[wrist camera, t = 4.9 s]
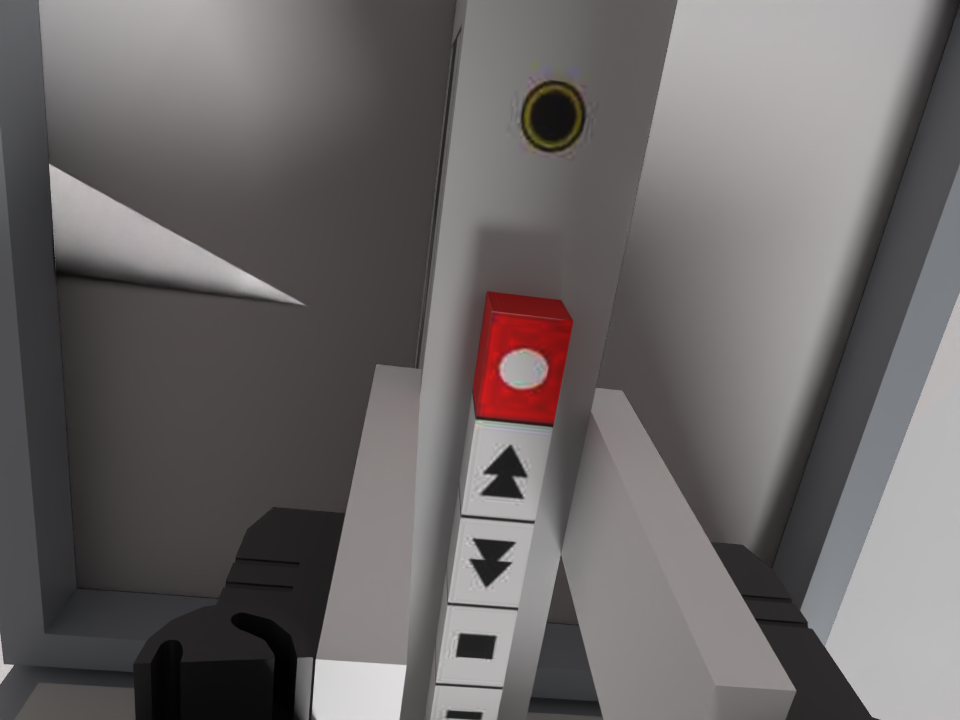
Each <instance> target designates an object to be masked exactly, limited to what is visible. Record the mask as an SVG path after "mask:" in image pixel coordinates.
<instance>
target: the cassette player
mask: <svg viewBox="0 0 960 720" xmlns="http://www.w3.org/2000/svg"><path fill="white" fill-rule="evenodd" d="M676 5H677V0H456V9H455V18H454V26H453V35H452V44H451V52H450V61H449V70H448V78H447V87H446V96H445V104H444V113H443V122H442V131H441V139H440V148H439V157H438V165H437V174H436V183H435V191H434V200H433V209H432V217H431V226H430V235H429V243H428V252H427V261H426V269H425V278H424V287H423V295H422V304H421V313H420V321H419V330H418V339H417V348H416V356H415V365H414V368H416V369H421V389H420V409H419V428H418V448H417V468H416V488H415V508H414V528H413V548H412V568H411V588H410V608H409V628H408V648H407V666H406V674H405V681H404V689H403V696H402V704H401V712H400V719H399V720H526V717H527V713H528V708H529V703H530V698H531V694H532V689H533V684H534V679H535V675H536V670H537V665H538V660H539V656H540V651H541V646H542V641H543V637H544V632H545V627H546V622H547V618H548V613H549V608H550V603H551V599H552V594H553V589H554V584H555V580H556V575H557V570H558V565H559V561H560V556H561V551H562V546H563V542H564V537H565V532H566V527H567V523H568V518H569V513H570V508H571V504H572V499H573V494H574V489H575V485H576V480H577V475H578V470H579V466H580V461H581V456H582V451H583V447H584V442H585V437H586V432H587V427H588V423H589V418H590V413H591V409H592V404H593V399H594V394H595V390H596V385H597V380H598V375H599V371H600V366H601V361H602V356H603V352H604V347H605V342H606V337H607V333H608V328H609V323H610V318H611V314H612V309H613V304H614V299H615V295H616V290H617V285H618V280H619V276H620V271H621V266H622V261H623V257H624V252H625V247H626V242H627V238H628V233H629V228H630V223H631V219H632V214H633V209H634V204H635V200H636V195H637V190H638V185H639V181H640V176H641V171H642V166H643V162H644V157H645V152H646V147H647V143H648V138H649V133H650V128H651V124H652V119H653V114H654V109H655V105H656V100H657V95H658V90H659V86H660V81H661V76H662V71H663V67H664V62H665V57H666V52H667V48H668V43H669V38H670V33H671V29H672V24H673V19H674V14H675V10H676Z"/></svg>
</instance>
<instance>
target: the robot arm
mask: <svg viewBox="0 0 960 720" xmlns="http://www.w3.org/2000/svg"><path fill="white" fill-rule="evenodd" d="M420 389H421V369H416V368H407V367H397V366H388V365H379V364H376V368H375V373H374V378H373V383H372V387H371V392H370V397H369V402H368V407H367V412H366V417H365V422H364V427H363V431H362V436H361V441H360V446H359V451H358V456H357V461H356V466H355V470H354V475H353V480H352V485H351V490H350V495H349V500H348V505H347V509H346V513H335V512H324V511H312V510H300V509H289V508H277V507H273V508H272V509H271V510H270V511H268V512H267V513H266V514H265V515H264V516H263V517H261V518H260V519H259V520H258V521H257V522H255V523H254V524H253V525H252V526H251V527H250V528H248V529H247V532H246V534H245V536H244V539H243V541H242V544H241V546H240V548H239V551H238V553H237V556H236V560H235V563H233V565H232V568H231V570H230V573H229V575H228V578H227V580H226V585H225V588H223V590H222V592H221V595H220V597H219V599H218V602H217V604H216V605H212V606H205V607H201V608H199V609H197V610H194V611H192V612H189V613H187V614H185V615H182V616H180V617H177V618H175V619H172V620H171V621H170V622H169V623H167V624H166V625H165V626H164V627H162V628H161V629H160V630H159V631H157V632H156V633H155V634H154V635H152V636H151V637H150V638H149V639H148V640H147V641H146V643H145V645H144V646H143V648H142V650H141V651H140V653H139V655H138V656H137V658H136V660H135V662H134V663H133V673H134V696H135V720H399V719H400V712H401V704H402V696H403V689H404V681H405V674H406V666H407V648H408V628H409V608H410V588H411V568H412V548H413V528H414V508H415V488H416V468H417V448H418V428H419V409H420ZM561 556H562V560H563V564H564V568H565V572H566V576H567V580H568V584H569V588H570V591H571V595H572V599H573V603H574V607H575V611H576V615H577V619H578V623H579V626H580V630H581V634H582V638H583V642H584V646H585V650H586V654H587V658H588V661H589V665H590V669H591V673H592V677H593V681H594V685H595V689H596V693H597V697H598V700H599V704H600V708H601V712H602V716H603V720H879V719H876V718H873V717H871V715H870V714H869V712H868V711H867V709H866V708H865V706H864V705H863V703H862V702H861V700H860V699H859V697H858V696H857V694H856V693H855V691H854V690H853V688H852V687H851V685H850V684H849V682H848V681H847V679H846V678H845V676H844V675H843V674H842V672H841V671H840V669H839V668H838V666H837V665H836V663H835V662H834V660H833V659H832V657H831V656H830V654H829V653H828V651H827V650H826V648H825V647H824V645H823V644H822V642H821V641H820V639H819V638H818V636H817V635H816V633H815V632H814V630H813V629H811V628H808V622H807V620H806V619H805V617H804V616H803V614H802V613H801V611H800V610H799V608H798V607H797V605H796V604H792V598H791V596H790V595H789V593H788V592H787V590H786V589H785V587H784V586H783V584H782V583H781V581H780V580H779V578H778V577H777V575H776V574H775V572H774V571H773V570H772V569H771V568H770V567H768V566H767V565H766V564H765V563H764V562H762V561H761V560H760V559H759V558H758V557H756V556H755V555H754V554H753V553H752V552H750V551H749V550H748V549H747V548H746V547H744V546H743V545H736V544H725V543H713V542H710V541H709V539H708V537H707V536H706V534H705V532H704V530H703V529H702V527H701V525H700V524H699V522H698V520H697V518H696V517H695V515H694V513H693V511H692V510H691V508H690V506H689V505H688V503H687V501H686V499H685V498H684V496H683V494H682V493H681V491H680V489H679V487H678V486H677V484H676V482H675V480H674V479H673V477H672V475H671V474H670V472H669V470H668V468H667V467H666V465H665V463H664V462H663V460H662V458H661V456H660V455H659V453H658V451H657V449H656V448H655V446H654V444H653V443H652V441H651V439H650V437H649V436H648V434H647V432H646V430H645V429H644V427H643V425H642V424H641V422H640V420H639V418H638V417H637V415H636V413H635V412H634V410H633V408H632V406H631V405H630V403H629V401H628V399H627V398H626V396H625V394H624V393H623V391H621V390H612V389H602V388H596V390H595V394H594V399H593V404H592V409H591V413H590V418H589V423H588V427H587V432H586V437H585V442H584V447H583V451H582V456H581V461H580V466H579V470H578V475H577V480H576V485H575V489H574V494H573V499H572V504H571V508H570V513H569V518H568V523H567V527H566V532H565V537H564V542H563V546H562V551H561Z"/></svg>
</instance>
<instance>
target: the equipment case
mask: <svg viewBox="0 0 960 720" xmlns="http://www.w3.org/2000/svg"><path fill="white" fill-rule="evenodd" d="M959 292H960V5H959V8H958V11H957V14H956V17H955V20H954V23H953V26H952V29H951V32H950V35H949V38H948V41H947V44H946V47H945V50H944V53H943V56H942V59H941V62H940V65H939V68H938V71H937V74H936V77H935V80H934V83H933V86H932V89H931V92H930V95H929V98H928V101H927V104H926V107H925V110H924V113H923V116H922V119H921V122H920V125H919V128H918V131H917V134H916V137H915V140H914V143H913V146H912V149H911V152H910V155H909V158H908V161H907V164H906V167H905V170H904V173H903V176H902V179H901V182H900V185H899V188H898V191H897V194H896V197H895V200H894V203H893V206H892V209H891V212H890V215H889V218H888V221H887V224H886V227H885V230H884V233H883V236H882V239H881V242H880V245H879V248H878V251H877V255H876V258H875V261H874V264H873V267H872V270H871V273H870V276H869V279H868V282H867V285H866V288H865V291H864V294H863V297H862V300H861V303H860V306H859V309H858V312H857V315H856V318H855V321H854V324H853V327H852V330H851V333H850V336H849V339H848V342H847V345H846V348H845V351H844V354H843V357H842V360H841V363H840V366H839V369H838V372H837V375H836V378H835V381H834V384H833V387H832V390H831V393H830V396H829V399H828V402H827V405H826V408H825V411H824V414H823V417H822V420H821V423H820V426H819V429H818V432H817V435H816V438H815V441H814V444H813V447H812V450H811V453H810V456H809V459H808V462H807V465H806V468H805V471H804V474H803V477H802V480H801V483H800V486H799V489H798V492H797V495H796V498H795V501H794V504H793V507H792V510H791V513H790V516H789V519H788V522H787V525H786V528H785V531H784V534H783V537H782V540H781V543H780V546H779V549H778V552H777V555H776V558H775V561H774V564H773V567H772V570H773V571H774V572H775V574H776V575H777V577H778V578H779V580H780V581H781V583H782V584H783V586H784V587H785V589H786V590H787V592H788V593H789V595H790V596H791V598H792V604H796V605H797V607H798V608H799V610H800V611H801V613H802V614H803V616H804V617H805V619H806V620H807V622H808V628H811V629H813V630H814V632H815V633H816V635H817V636H818V638H819V639H820V641H821V642H822V644H823V645H824V647H825V645H826V642H827V639H828V637H829V634H830V631H831V629H832V626H833V624H834V621H835V618H836V616H837V613H838V610H839V608H840V605H841V603H842V600H843V597H844V595H845V592H846V589H847V587H848V584H849V581H850V579H851V576H852V574H853V571H854V568H855V566H856V563H857V560H858V558H859V555H860V553H861V550H862V547H863V545H864V542H865V539H866V537H867V534H868V531H869V529H870V526H871V524H872V521H873V518H874V516H875V513H876V510H877V508H878V505H879V503H880V500H881V497H882V495H883V492H884V489H885V487H886V484H887V481H888V479H889V476H890V474H891V471H892V468H893V466H894V463H895V460H896V458H897V455H898V452H899V450H900V447H901V445H902V442H903V439H904V437H905V434H906V431H907V429H908V426H909V424H910V421H911V418H912V416H913V413H914V410H915V408H916V405H917V402H918V400H919V397H920V395H921V392H922V389H923V387H924V384H925V381H926V379H927V376H928V374H929V371H930V368H931V366H932V363H933V360H934V358H935V355H936V352H937V350H938V347H939V345H940V342H941V339H942V337H943V334H944V331H945V329H946V326H947V324H948V321H949V318H950V316H951V313H952V310H953V308H954V305H955V302H956V300H957V297H958V295H959ZM217 602H218V599H213V598H199V597H186V596H172V595H159V594H145V593H131V592H118V591H104V590H91V589H77V584H76V569H75V554H74V539H73V523H72V508H71V493H70V478H69V463H68V447H67V432H66V417H65V402H64V387H63V371H62V356H61V341H60V326H59V311H58V295H57V280H56V265H55V250H54V235H53V219H52V204H51V189H50V174H49V159H48V143H47V128H46V113H45V98H44V83H43V67H42V52H41V37H40V22H39V7H38V0H0V634H1V642H2V651H3V660H4V664H12V665H14V666H13V668H12V669H11V670H10V672H9V673H8V675H7V676H6V677H5V679H4V680H3V682H2V683H1V684H0V720H135V696H134V673H133V663H134V662H135V660H136V658H137V656H138V655H139V653H140V651H141V650H142V648H143V646H144V645H145V643H146V641H147V640H148V639H149V638H150V637H151V636H152V635H154V634H155V633H156V632H157V631H159V630H160V629H161V628H162V627H164V626H165V625H166V624H167V623H169V622H170V621H171V620H172V619H175V618H177V617H180V616H182V615H185V614H187V613H189V612H192V611H194V610H197V609H199V608H201V607H205V606H212V605H216V604H217ZM526 720H603V716H602V712H601V708H600V704H599V700H598V697H597V693H596V689H595V685H594V681H593V677H592V673H591V669H590V665H589V661H588V658H587V654H586V650H585V646H584V642H583V638H582V634H581V630H580V626H579V625H566V624H553V623H546V627H545V632H544V637H543V641H542V646H541V651H540V656H539V660H538V665H537V670H536V675H535V679H534V684H533V689H532V694H531V698H530V703H529V708H528V713H527V717H526Z"/></svg>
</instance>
